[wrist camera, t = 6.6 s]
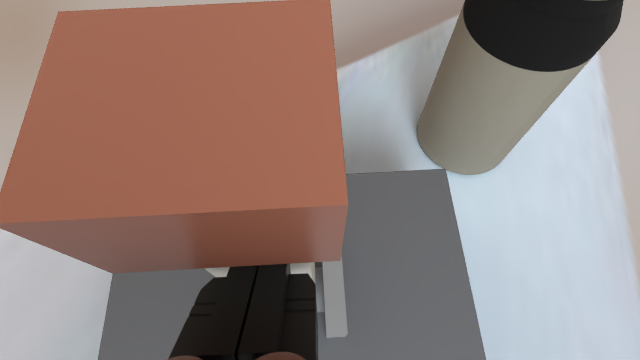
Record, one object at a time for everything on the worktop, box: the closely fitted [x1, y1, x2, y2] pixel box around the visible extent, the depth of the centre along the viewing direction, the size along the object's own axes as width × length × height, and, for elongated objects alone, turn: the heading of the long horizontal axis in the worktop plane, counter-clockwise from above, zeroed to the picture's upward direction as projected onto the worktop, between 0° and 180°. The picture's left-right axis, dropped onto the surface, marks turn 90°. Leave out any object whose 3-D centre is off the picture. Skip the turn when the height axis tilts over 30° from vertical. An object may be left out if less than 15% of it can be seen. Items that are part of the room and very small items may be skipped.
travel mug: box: [417, 0, 623, 175], centre depth 27 cm, size 8×8×18 cm
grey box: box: [98, 169, 486, 360], centre depth 24 cm, size 20×14×10 cm
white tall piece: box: [0, 0, 348, 301], centre depth 13 cm, size 4×4×16 cm
